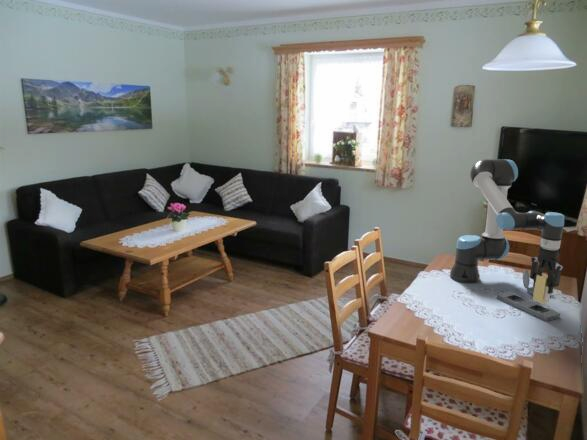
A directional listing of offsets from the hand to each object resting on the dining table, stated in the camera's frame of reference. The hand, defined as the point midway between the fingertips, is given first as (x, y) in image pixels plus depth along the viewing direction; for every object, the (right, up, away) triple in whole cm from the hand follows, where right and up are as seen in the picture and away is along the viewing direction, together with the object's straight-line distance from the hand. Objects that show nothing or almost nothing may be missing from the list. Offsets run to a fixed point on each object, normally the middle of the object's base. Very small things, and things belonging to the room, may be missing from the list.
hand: (541, 297), depth 192 cm
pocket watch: (+12, -3, +23) cm, 26 cm away
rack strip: (-3, -6, +7) cm, 10 cm away
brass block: (0, -2, 0) cm, 2 cm away
